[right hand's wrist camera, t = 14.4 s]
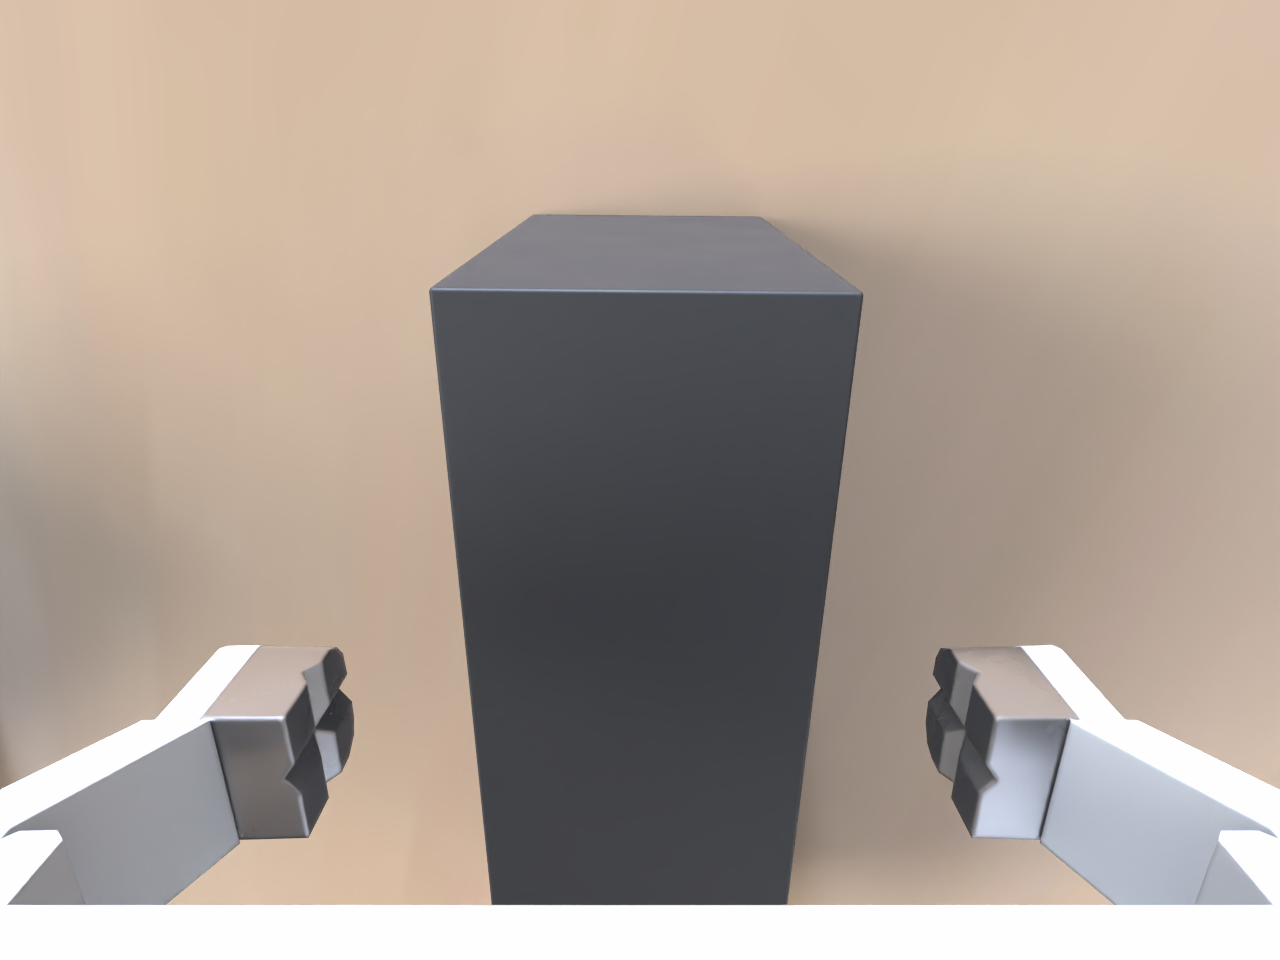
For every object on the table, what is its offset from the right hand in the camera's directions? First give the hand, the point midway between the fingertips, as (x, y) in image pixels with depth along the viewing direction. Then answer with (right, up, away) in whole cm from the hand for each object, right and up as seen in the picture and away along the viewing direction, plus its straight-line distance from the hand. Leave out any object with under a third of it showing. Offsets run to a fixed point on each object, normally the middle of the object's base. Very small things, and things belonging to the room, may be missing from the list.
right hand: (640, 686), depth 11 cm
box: (0, -1, +14) cm, 14 cm away
